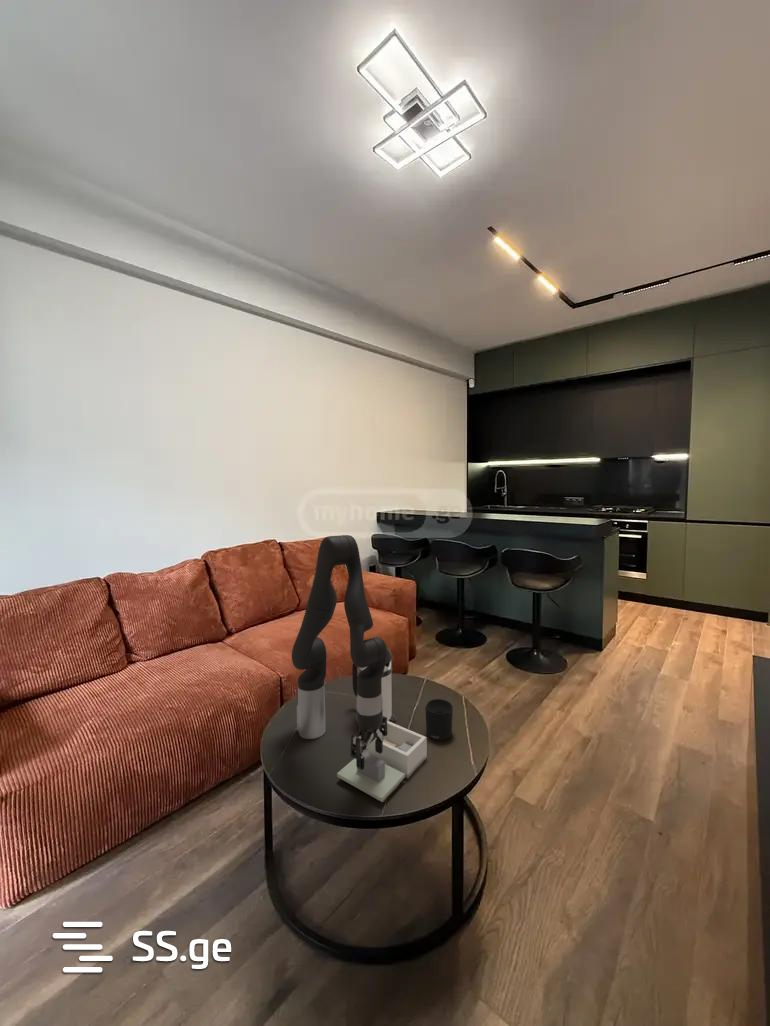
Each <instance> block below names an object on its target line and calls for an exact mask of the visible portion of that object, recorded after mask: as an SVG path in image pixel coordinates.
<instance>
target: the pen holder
mask: <svg viewBox="0 0 770 1026" xmlns="http://www.w3.org/2000/svg"><path fill="white" fill-rule="evenodd" d="M453 708H454V707H453V704H452V703H451V702H450V701H448V700H445V699H441V698H435V699H430V700H429V701H428V702H427V704H426V705H425V708H424V709H425V725H426V726H425V728H426V734H427V736H428V737H429V738H430V739H432V740H434V741H436V742H437V741H439V742H443V741H447V740H448V739H450V738H451V736H452V732H453V730H452V729H453V714H454V713H453V711H454V710H453Z"/></svg>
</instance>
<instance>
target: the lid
mask: <svg viewBox="0 0 770 1026" xmlns="http://www.w3.org/2000/svg"><path fill="white" fill-rule="evenodd" d="M336 777H337V778H339V779H341V780H342V781H344V782H345V783H347V784H349V785H351V786H353V787H354V788H357V789H358V790H360V791H362V792H363V793H365V794H367V795H369V796H370V797H372V798H374V799H376V800H377V801H380V803H383V802H382V801H383V800H384V799H385V798H386V797H387V796H388V795H389V794H390V793H391V791H392V790H393V789H394V788H395V787H396V786H397V785H398V784H400V783H401V782H402V781H403V780H404V779H405V778H406V777H405V774H404V773H402V772H400V771H398V770H396V769H394V768H392V767H390V766H388V765H386V764H385V761H382V760H380V759H378V758H376V757H374V756H372V755H370V754H368V753H366V752H365V754H364V769H363V770H361V769H359V768H358V767H357V766H356V759H355V758H354V759H352V760H350V762H349V763H347V764H346V765H345V766H344V767H342V768H341V769H340V770H339V771H338V772H336ZM391 794H392V793H391Z"/></svg>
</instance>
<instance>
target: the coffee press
mask: <svg viewBox="0 0 770 1026" xmlns="http://www.w3.org/2000/svg"><path fill="white" fill-rule="evenodd" d="M392 660H393V654H392V652H391V650H390V649H389V648H388V647H387V660H386V664H385V668H384V672H383V675H382V679H381V683H382V705H383V716H384V717H387V721H389V722H392V723H395V722H396V720H397V717H396V715H395V714H394V712H393V710H394V709H393V708H394V707H393V664H392ZM365 668H366V667H364V668H359V667H357V666H356V665H355V664H354V663H353V662H352V670H351V671H352V690H353V693H354V695H355V697H356V698H357V675H358V674H359V673H360V672H361V671H362V670H364V669H365ZM392 717H393V718H392ZM355 722H356V723H357V715H356V716H355Z"/></svg>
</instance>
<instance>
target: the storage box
mask: <svg viewBox="0 0 770 1026" xmlns="http://www.w3.org/2000/svg"><path fill="white" fill-rule="evenodd" d="M382 730H384V729H383V728H382ZM387 731H388V734H387V736H384V740H383V749H382V753H381V754H380V753H378V752H376V751H375V740H373V741H372V742H371V743H370V745H369V748H368V750H366V753H368V754H370V755H372V756H374V757H376V758H378V759H380V760H382V761H385V764H386V765H388V766H390V767H392V768H394V769H396V770H398V771H400V772H402V773H404V774H405V778H406V779H409V777H410V776H412V774H414V772H416V770H417V769H418V768H419V767H420V766H421V765H422V764H423V763H424V762H425V761H426V759H427V758H428V757H427V754H428V753H427V751H428V750H427V749H428V747H427V741H428V739H427V736H425V735H423V734H420V733H418V732H415V731H413V730H410V729H408V728H405V727H403V726H401V725H398V724H396V723H395V722H392V721H390V720H389V721H387ZM376 739H377V738H376Z"/></svg>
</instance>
